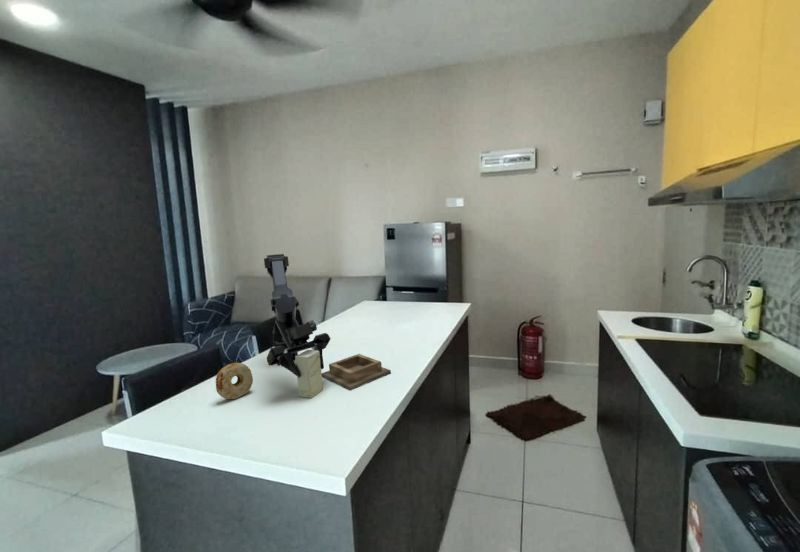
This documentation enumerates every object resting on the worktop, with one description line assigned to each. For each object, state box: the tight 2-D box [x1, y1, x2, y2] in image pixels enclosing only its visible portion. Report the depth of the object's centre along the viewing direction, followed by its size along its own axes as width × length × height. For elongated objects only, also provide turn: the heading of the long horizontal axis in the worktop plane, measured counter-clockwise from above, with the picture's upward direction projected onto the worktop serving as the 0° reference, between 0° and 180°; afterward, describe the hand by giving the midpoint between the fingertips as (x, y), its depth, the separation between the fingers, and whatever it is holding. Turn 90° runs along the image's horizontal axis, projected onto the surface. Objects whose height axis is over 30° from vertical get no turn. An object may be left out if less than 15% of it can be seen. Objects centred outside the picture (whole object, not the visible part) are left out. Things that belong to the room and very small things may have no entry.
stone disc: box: [215, 362, 254, 400], centre depth 112 cm, size 10×4×10 cm, turn 139°
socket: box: [322, 353, 392, 391], centre depth 123 cm, size 16×16×4 cm
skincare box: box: [294, 349, 324, 399], centre depth 111 cm, size 6×4×12 cm
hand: (311, 372), depth 110 cm, fingers closed on skincare box, 7 cm apart
